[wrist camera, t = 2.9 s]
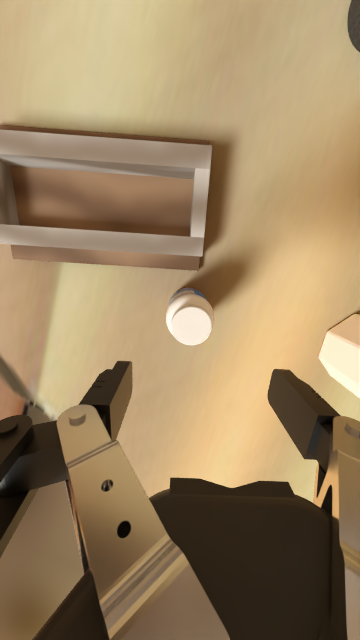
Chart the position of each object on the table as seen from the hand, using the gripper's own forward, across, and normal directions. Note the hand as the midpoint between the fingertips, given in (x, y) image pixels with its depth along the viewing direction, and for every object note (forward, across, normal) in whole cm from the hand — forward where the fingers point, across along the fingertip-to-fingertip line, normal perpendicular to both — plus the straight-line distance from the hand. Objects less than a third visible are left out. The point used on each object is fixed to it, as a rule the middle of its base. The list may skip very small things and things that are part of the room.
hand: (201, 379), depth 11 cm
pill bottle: (+18, 0, 0) cm, 18 cm away
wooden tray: (+18, +11, -12) cm, 24 cm away
